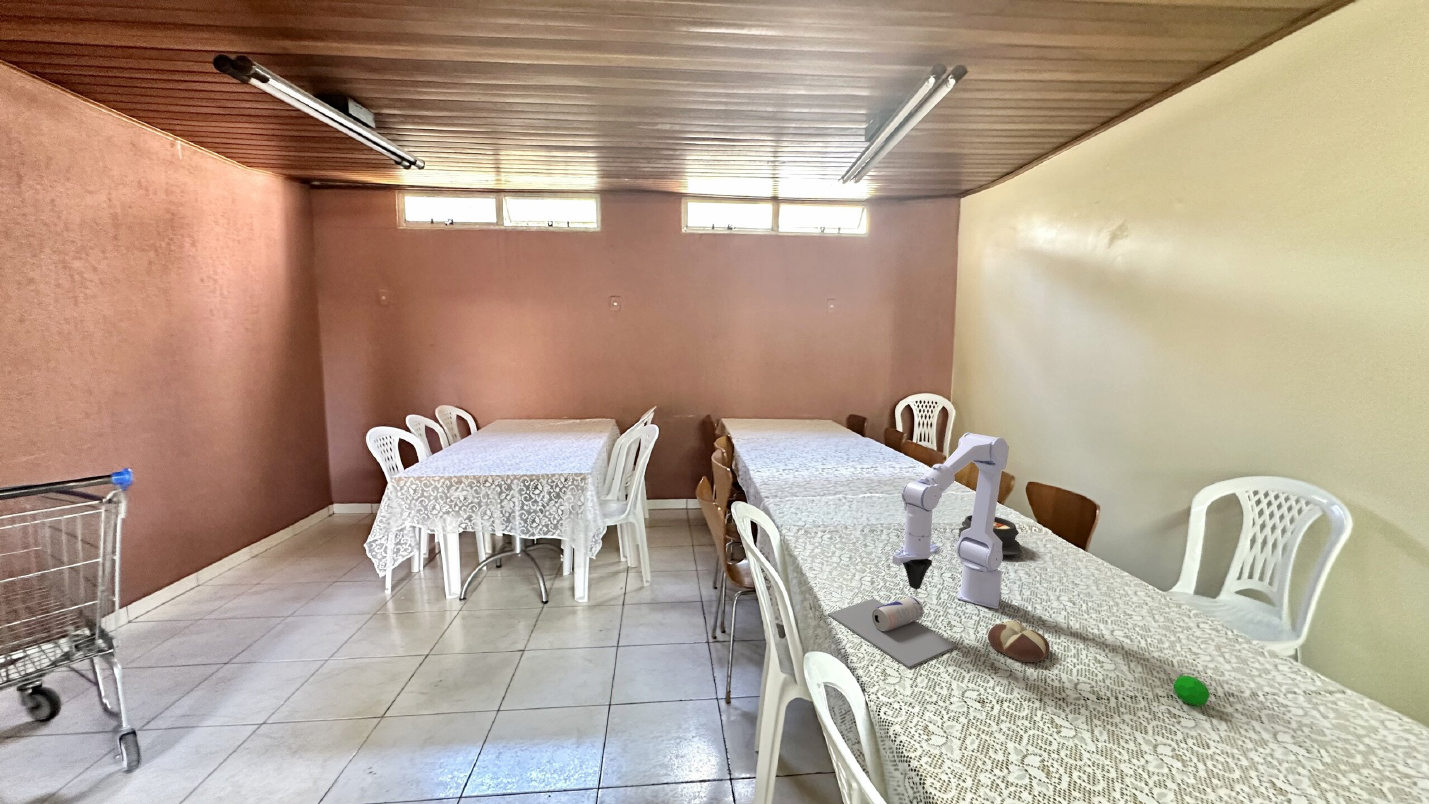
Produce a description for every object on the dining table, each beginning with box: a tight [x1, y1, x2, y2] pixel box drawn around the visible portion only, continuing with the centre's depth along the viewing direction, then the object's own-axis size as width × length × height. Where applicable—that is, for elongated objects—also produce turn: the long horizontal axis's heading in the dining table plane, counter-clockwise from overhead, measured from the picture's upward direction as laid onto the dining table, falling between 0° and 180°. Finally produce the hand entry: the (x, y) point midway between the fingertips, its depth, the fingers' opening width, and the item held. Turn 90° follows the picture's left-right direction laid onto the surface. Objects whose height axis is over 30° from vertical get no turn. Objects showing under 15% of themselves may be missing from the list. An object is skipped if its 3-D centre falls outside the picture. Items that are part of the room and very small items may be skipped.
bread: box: [987, 620, 1051, 663], centre depth 114 cm, size 11×11×5 cm
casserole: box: [958, 514, 1023, 556], centre depth 174 cm, size 25×19×8 cm
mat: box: [827, 598, 958, 670], centre depth 120 cm, size 16×24×1 cm, turn 30°
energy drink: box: [872, 596, 925, 631], centre depth 122 cm, size 5×5×12 cm
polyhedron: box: [1172, 675, 1211, 707], centre depth 97 cm, size 5×5×5 cm
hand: (914, 587), depth 124 cm, fingers closed
